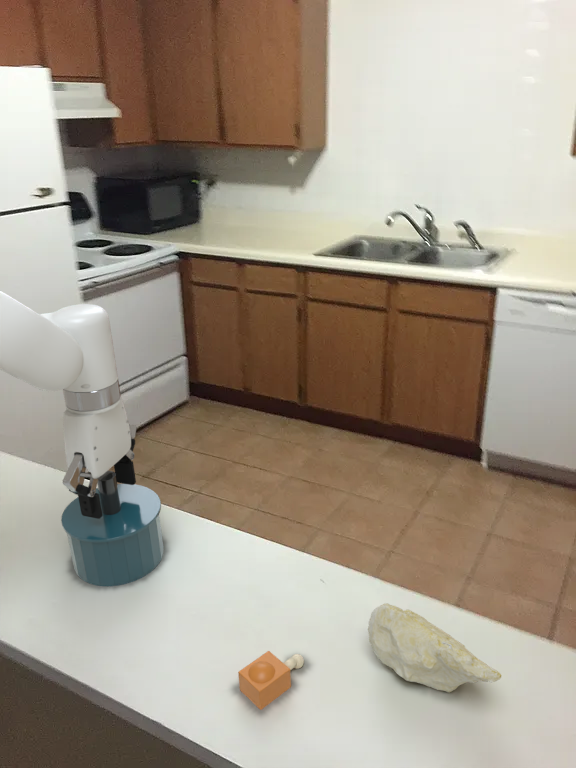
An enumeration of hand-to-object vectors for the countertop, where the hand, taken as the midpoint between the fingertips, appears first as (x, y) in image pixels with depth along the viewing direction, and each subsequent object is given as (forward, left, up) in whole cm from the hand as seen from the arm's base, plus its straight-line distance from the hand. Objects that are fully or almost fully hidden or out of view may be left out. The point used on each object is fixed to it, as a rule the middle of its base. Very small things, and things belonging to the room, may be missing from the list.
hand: (109, 498), depth 100 cm
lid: (0, 0, -3) cm, 3 cm away
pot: (0, 0, -11) cm, 11 cm away
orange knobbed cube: (-15, -32, -11) cm, 37 cm away
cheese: (-8, -50, -11) cm, 52 cm away
